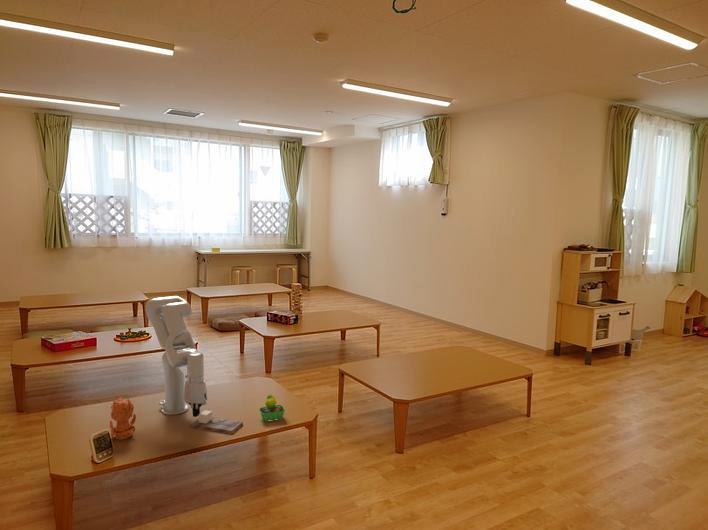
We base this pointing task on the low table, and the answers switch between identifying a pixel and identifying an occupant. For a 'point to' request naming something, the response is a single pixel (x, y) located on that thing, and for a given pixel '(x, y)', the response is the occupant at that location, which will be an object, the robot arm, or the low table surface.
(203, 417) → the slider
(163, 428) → the low table surface
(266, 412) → the fruit basket
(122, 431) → the orange figurine
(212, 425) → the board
